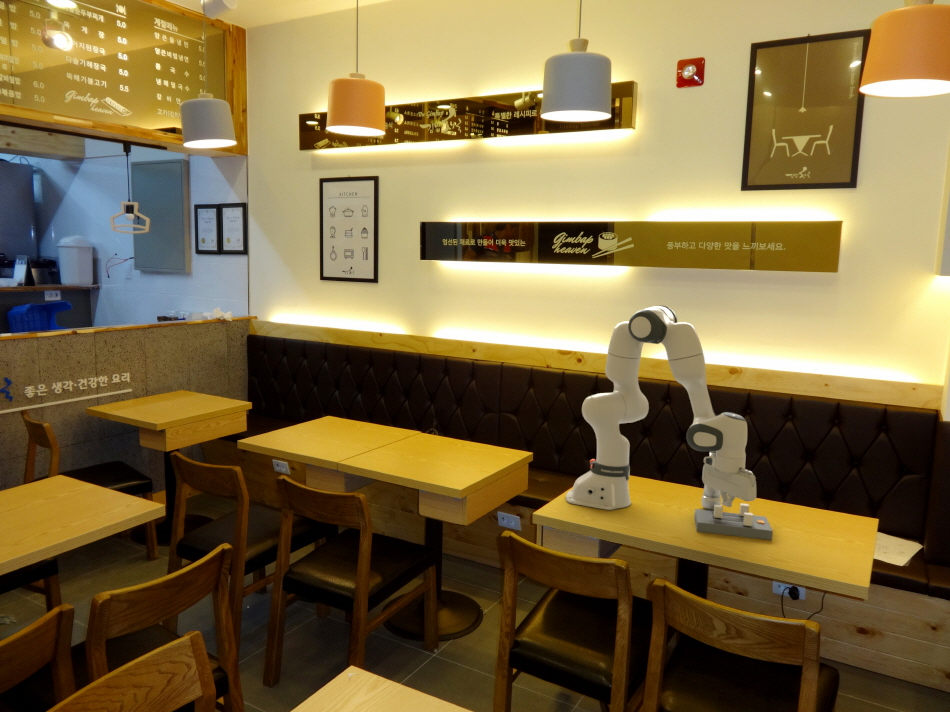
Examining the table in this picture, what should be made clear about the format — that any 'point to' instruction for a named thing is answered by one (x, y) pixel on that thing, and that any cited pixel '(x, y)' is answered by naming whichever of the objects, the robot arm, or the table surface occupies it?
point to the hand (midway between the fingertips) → (726, 505)
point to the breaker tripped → (718, 511)
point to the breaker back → (744, 509)
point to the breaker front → (748, 519)
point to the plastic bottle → (710, 494)
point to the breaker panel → (732, 525)
